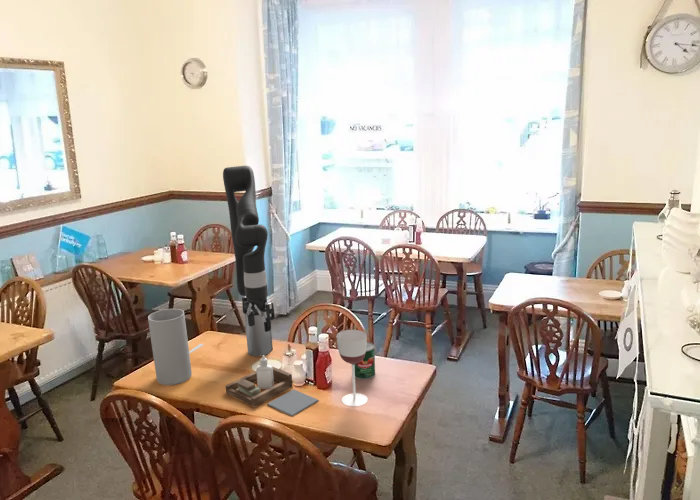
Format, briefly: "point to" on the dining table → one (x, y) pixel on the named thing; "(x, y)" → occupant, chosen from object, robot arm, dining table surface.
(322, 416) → the dining table surface
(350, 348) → the wineglass
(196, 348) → the butter knife
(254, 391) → the offcut stack
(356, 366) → the canned tomato
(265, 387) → the eye dropper bottle
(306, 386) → the dining table surface
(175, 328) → the cylinder vase
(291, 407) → the grey rubber mat
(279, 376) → the frame
